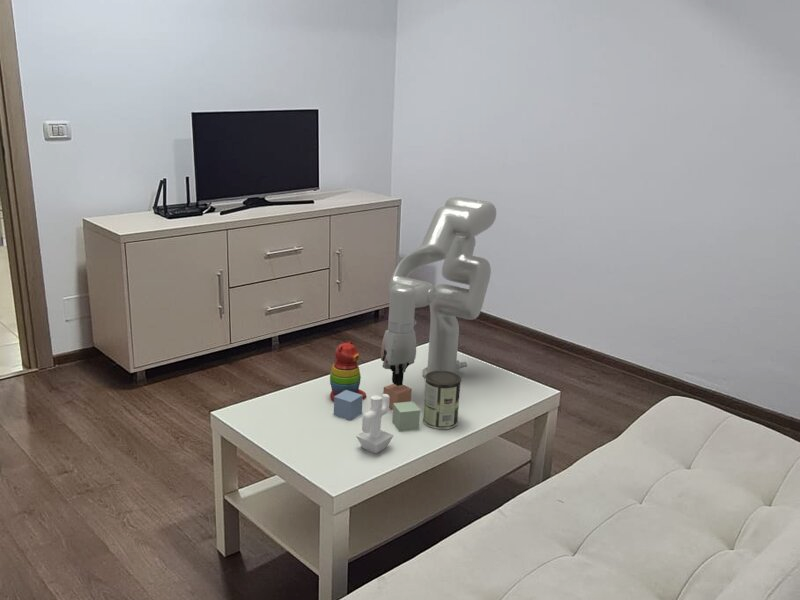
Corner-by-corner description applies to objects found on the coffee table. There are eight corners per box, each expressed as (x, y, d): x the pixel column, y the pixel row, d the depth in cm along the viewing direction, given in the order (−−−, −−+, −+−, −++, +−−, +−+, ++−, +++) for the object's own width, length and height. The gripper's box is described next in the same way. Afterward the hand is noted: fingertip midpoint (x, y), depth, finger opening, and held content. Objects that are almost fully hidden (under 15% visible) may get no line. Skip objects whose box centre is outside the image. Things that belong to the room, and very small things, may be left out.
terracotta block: (396, 399, 230) (397, 382, 228) (410, 406, 226) (411, 388, 224) (382, 405, 226) (383, 387, 224) (396, 412, 222) (397, 393, 220)
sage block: (411, 419, 217) (412, 401, 215) (418, 429, 212) (420, 410, 210) (392, 422, 215) (393, 403, 213) (399, 431, 210) (400, 412, 208)
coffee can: (439, 410, 224) (442, 367, 220) (464, 423, 217) (468, 378, 213) (415, 420, 217) (417, 375, 213) (440, 433, 210) (444, 387, 206)
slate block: (345, 408, 222) (345, 389, 221) (361, 413, 220) (362, 395, 218) (333, 415, 217) (334, 396, 216) (350, 421, 215) (351, 402, 213)
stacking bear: (346, 408, 222) (348, 353, 217) (321, 398, 228) (322, 344, 222) (369, 397, 230) (371, 343, 225) (344, 387, 236) (346, 335, 231)
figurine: (352, 449, 199) (354, 398, 194) (375, 437, 206) (377, 387, 201) (373, 458, 194) (376, 406, 190) (395, 445, 202) (398, 395, 197)
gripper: (414, 319, 225) (410, 375, 230) (372, 326, 217) (369, 384, 222) (428, 326, 219) (424, 384, 224) (386, 333, 211) (383, 393, 216)
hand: (397, 383), depth 223 cm, fingers closed
